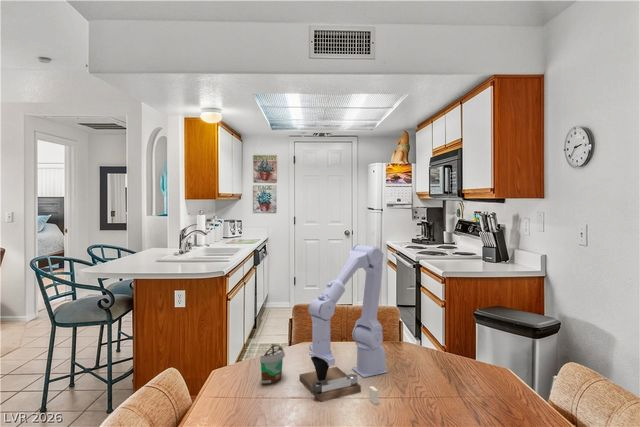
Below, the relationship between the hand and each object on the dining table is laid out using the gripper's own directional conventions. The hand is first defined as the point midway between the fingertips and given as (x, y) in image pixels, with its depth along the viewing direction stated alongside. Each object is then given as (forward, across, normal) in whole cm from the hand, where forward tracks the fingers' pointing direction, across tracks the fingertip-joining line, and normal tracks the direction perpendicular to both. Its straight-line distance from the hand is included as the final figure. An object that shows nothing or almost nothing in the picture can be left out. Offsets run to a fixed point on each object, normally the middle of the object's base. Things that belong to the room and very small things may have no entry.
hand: (321, 379), depth 131 cm
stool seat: (+3, -1, +3) cm, 4 cm away
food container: (+3, -13, -11) cm, 17 cm away
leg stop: (+3, +14, +10) cm, 18 cm away
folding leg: (+1, +5, +2) cm, 6 cm away
